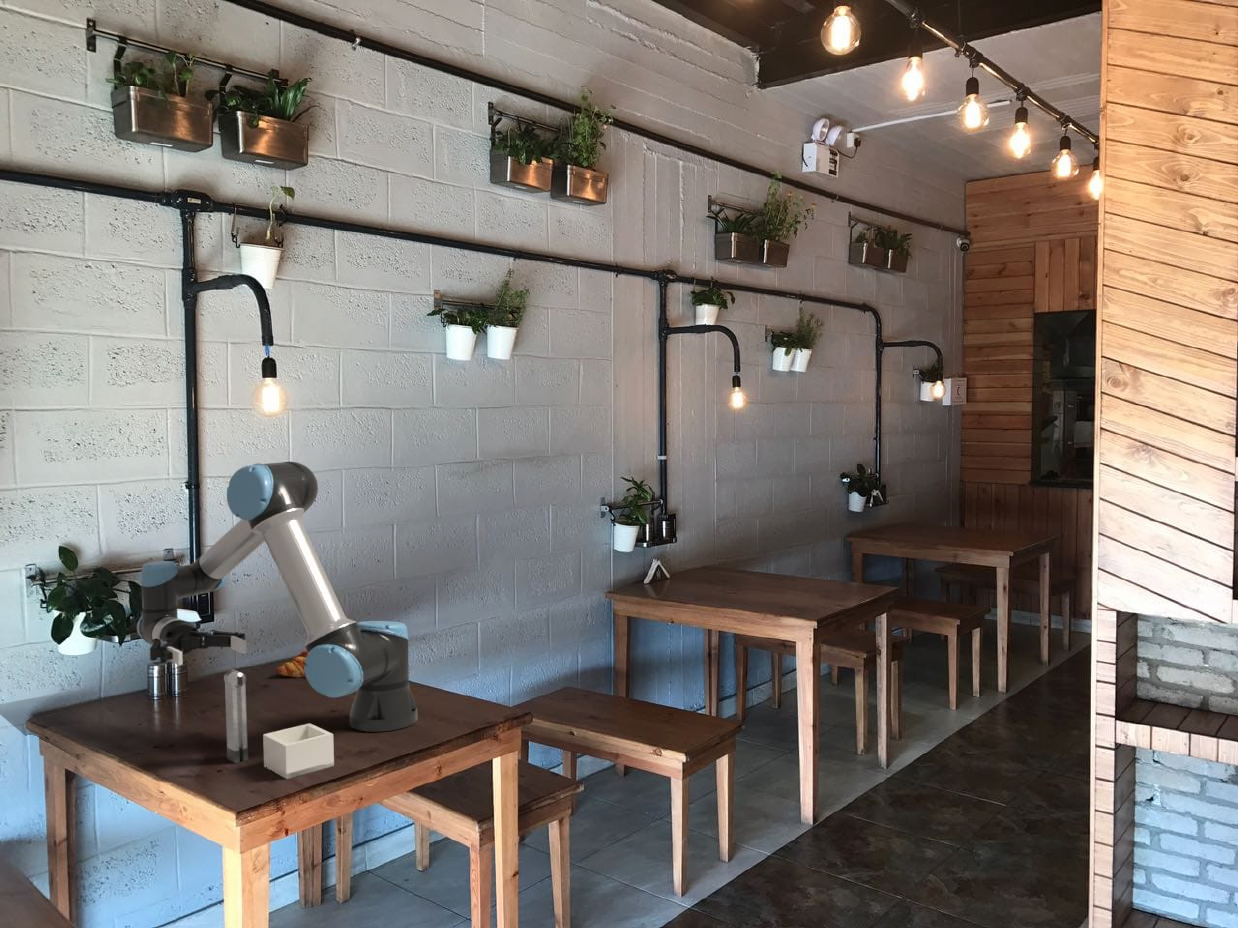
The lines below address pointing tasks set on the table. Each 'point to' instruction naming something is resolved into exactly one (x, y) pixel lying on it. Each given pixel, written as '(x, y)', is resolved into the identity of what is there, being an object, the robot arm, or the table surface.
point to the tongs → (236, 716)
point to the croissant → (294, 666)
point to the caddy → (298, 750)
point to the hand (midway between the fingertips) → (213, 652)
